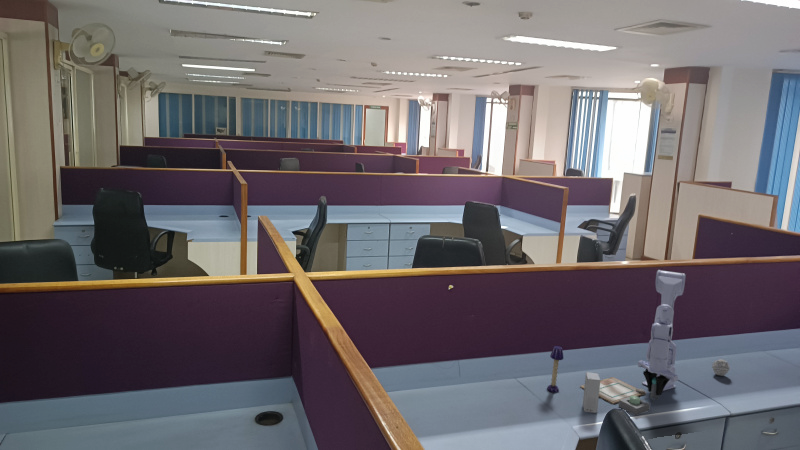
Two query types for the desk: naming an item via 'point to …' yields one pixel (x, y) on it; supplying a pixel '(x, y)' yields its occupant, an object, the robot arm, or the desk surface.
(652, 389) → the marker
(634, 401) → the button
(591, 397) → the skincare box
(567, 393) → the desk surface
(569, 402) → the desk surface
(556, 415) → the desk surface
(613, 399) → the framed board
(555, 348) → the toy lamp
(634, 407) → the button housing
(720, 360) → the grey lumpy rounded piece
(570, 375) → the desk surface
